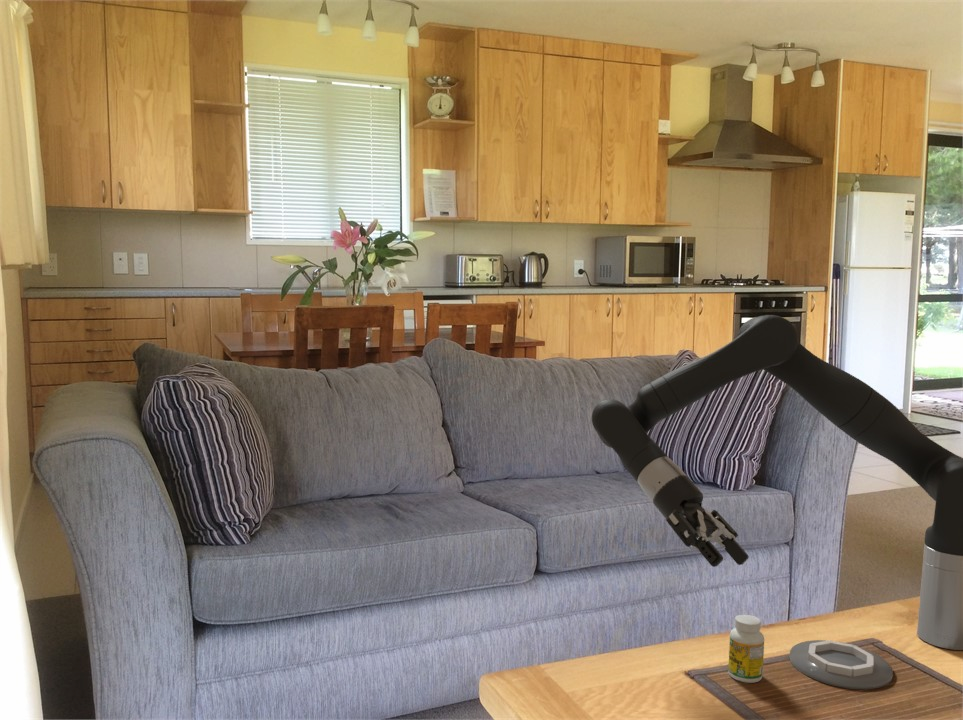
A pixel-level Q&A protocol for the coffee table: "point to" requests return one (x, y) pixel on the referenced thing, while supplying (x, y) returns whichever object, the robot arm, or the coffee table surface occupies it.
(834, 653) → the ringed coaster
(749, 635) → the supplement bottle
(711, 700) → the coffee table surface
